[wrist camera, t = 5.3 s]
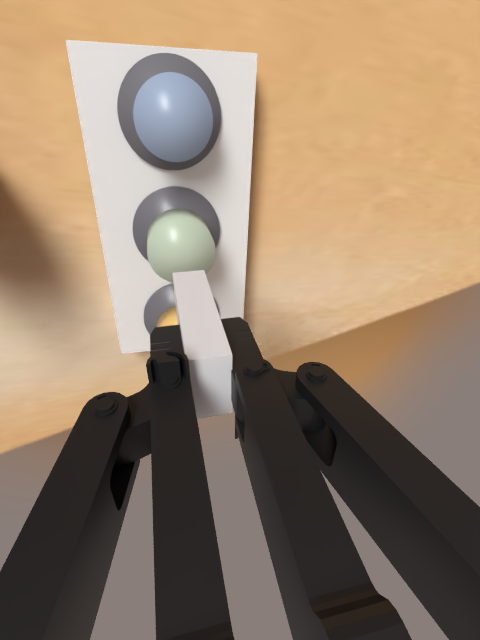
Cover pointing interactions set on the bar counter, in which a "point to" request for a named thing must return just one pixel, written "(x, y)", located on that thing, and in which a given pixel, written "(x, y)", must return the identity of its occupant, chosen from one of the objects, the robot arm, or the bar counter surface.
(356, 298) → the bar counter surface
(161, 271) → the button sage
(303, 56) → the bar counter surface
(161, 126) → the button slate
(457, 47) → the bar counter surface
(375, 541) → the robot arm
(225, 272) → the button panel
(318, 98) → the bar counter surface
